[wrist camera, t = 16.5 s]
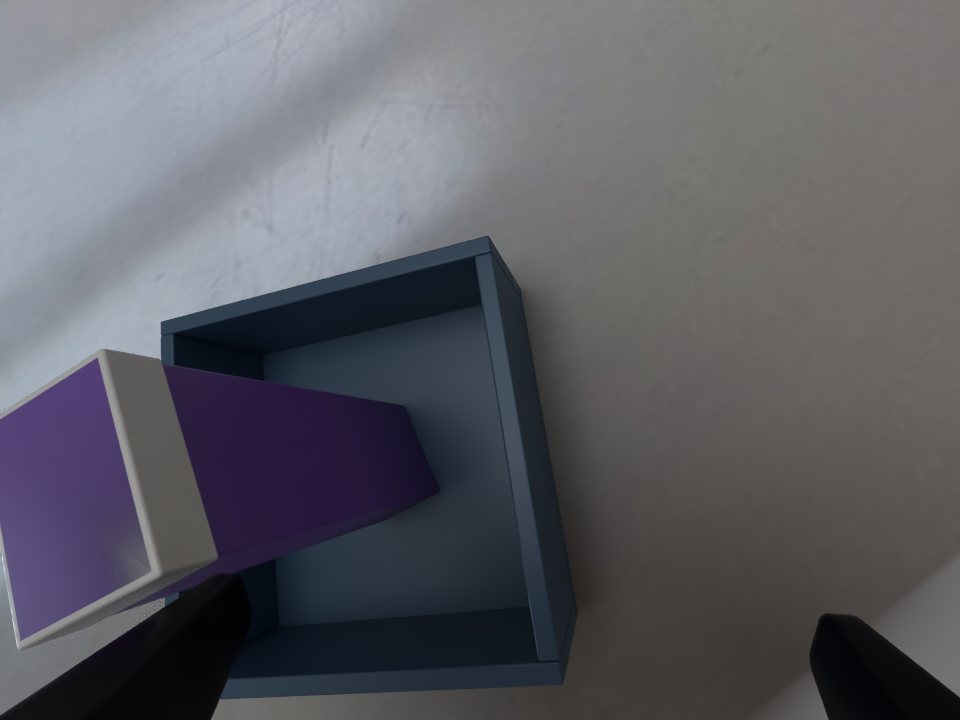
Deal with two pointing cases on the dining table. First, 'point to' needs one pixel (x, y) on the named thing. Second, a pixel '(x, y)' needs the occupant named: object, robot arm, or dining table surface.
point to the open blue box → (428, 524)
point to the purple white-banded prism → (181, 483)
